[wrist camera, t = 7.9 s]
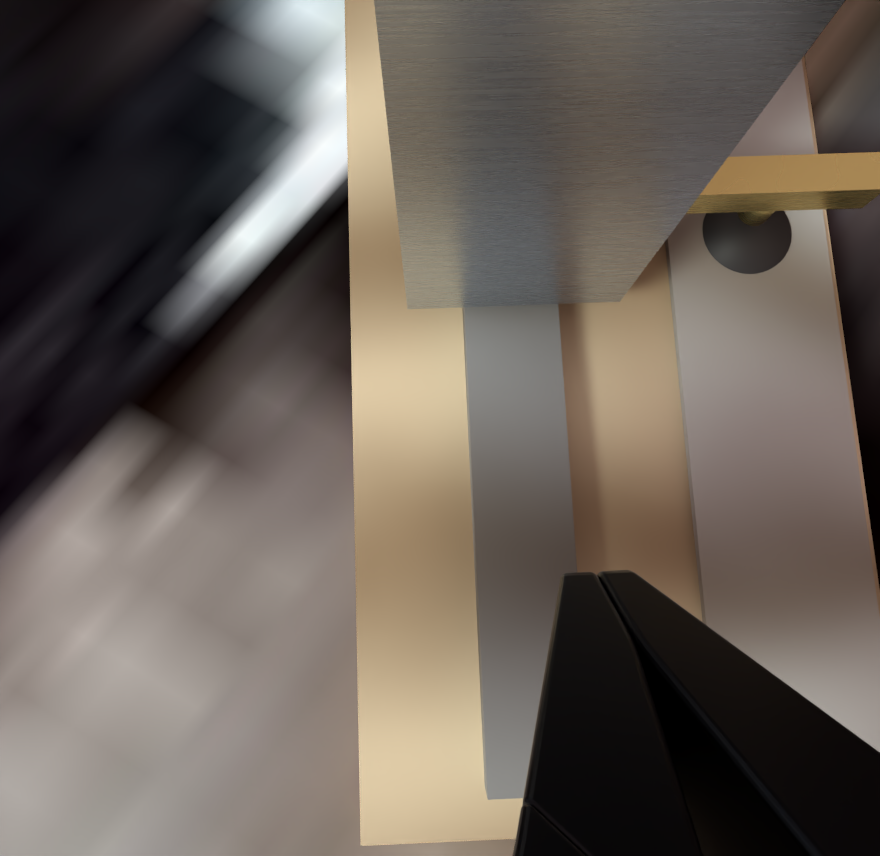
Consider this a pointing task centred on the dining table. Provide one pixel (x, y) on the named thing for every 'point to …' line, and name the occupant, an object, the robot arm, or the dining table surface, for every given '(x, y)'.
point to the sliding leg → (586, 137)
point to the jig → (591, 477)
